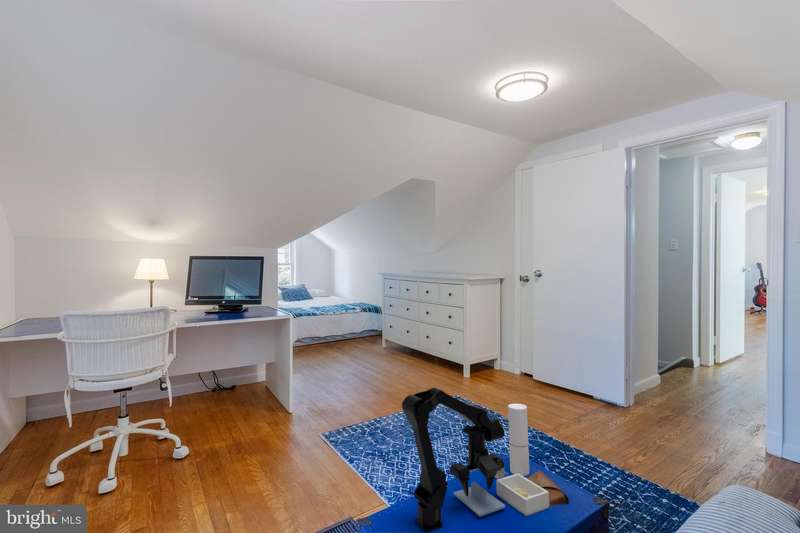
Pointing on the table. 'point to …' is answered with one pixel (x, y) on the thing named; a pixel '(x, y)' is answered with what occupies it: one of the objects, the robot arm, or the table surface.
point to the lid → (479, 500)
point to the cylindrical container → (518, 439)
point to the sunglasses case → (549, 488)
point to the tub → (522, 494)
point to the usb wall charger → (500, 474)
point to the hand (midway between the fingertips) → (478, 492)
